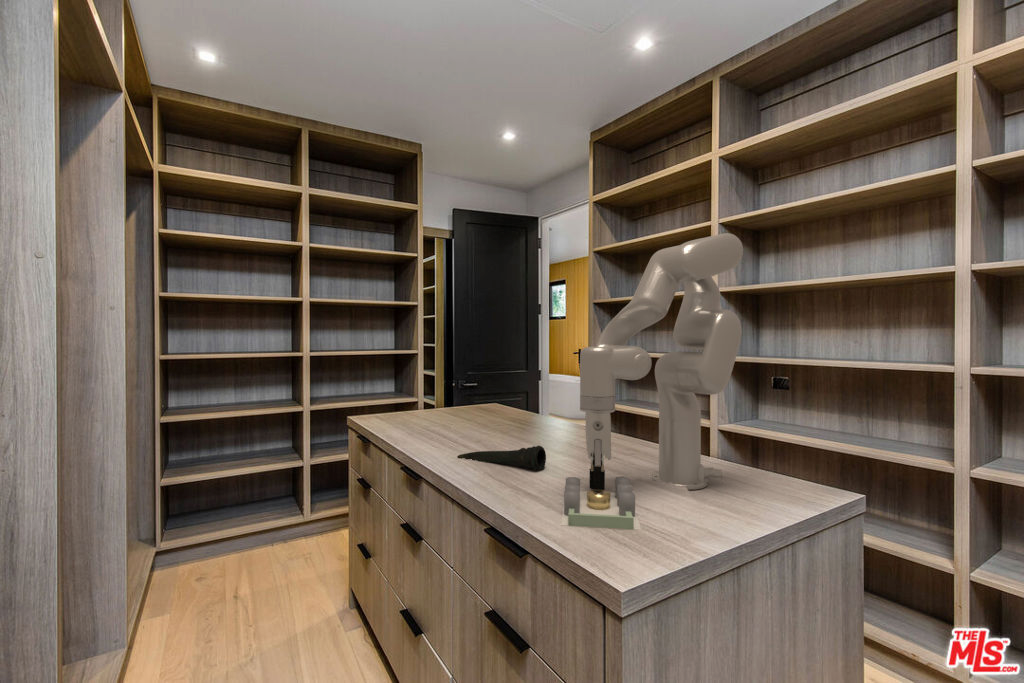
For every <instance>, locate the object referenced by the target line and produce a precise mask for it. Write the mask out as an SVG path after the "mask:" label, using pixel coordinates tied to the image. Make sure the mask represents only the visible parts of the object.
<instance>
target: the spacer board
mask: <svg viewBox="0 0 1024 683" xmlns="http://www.w3.org/2000/svg"><path fill="white" fill-rule="evenodd" d="M614 480H615V484H614V485H615V488H614V490H615V492H609V491H608V492H609V493H610V508H609V509H607V510H594V509H591V508H589V507H587V492H588V491H589V490H587V491H586V490H581V479H580V478H579V477H576V476H569V477H566V478H565V485H564V491H563V506H562V514H561V515H562V516H561V522H560V525H561V526H565V527H581V528H599V529H612V530H613V529H616V530H632V531H635V530H636V531H642V527H641V524H640V522H639V518H638V516H637V512H636V493H635V492H633V485H632V484H631V478H629V477H627V476H616V477H615V478H614Z"/></svg>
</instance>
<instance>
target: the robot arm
mask: <svg viewBox="0 0 1024 683" xmlns="http://www.w3.org/2000/svg"><path fill="white" fill-rule="evenodd" d="M743 255H744V247H743V243H742V241H741V240H740V239H739V238H738V236H737V235H735V234H733V233H727V232H724V233H720V234H715V235H711V236H706V237H701V238H696V239H693V240H689V241H685V242H683V243H681V244H679V245H675V246H671V247H665V248H662V249H658V250H657V251H656V252H654V253H653V254H652V256H651V257H650V259H649V262H648V264H647V265H646V267H645V270H644V272H643V274H642V276H641V279H640V282H639V284H638V286H637V288H636V290H635V292H634V294H633V296H632V299H631V300H630V301H629V303H628V304H626V306H624V307H623V308H621V310H619V312H618V313H617V314H616V315H615V316H614V317H613V318H612V319H611V320H610V321H609V323H607V325H606V326H605V328H604V329H603V331H602V332H601V334H600V336H599V338H598V340H597V342H596V346H584V347H583V348H582V349H581V351H580V354H579V355H580V357H579V363H580V364H579V367H580V368H579V410H580V411H581V412H583V413H584V412H585V441H586V442H585V443H586V451H587V458H588V459H589V460H590V468H589V489H590V490H605V489H606V488H605V487H606V482H605V481H606V480H605V479H606V476H605V475H606V473H605V472H606V470H605V459H607V460H608V461H610V460H612V420H611V419H612V417H611V416H612V415H611V413H614V412H616V380H617V379H620V380H628V381H636V380H640V379H642V378H645V377H646V376H647V375H648V374H649V373H650V370H651V368H652V362H653V361H652V358H651V356H650V354H649V353H648V351H647V350H646V349H644V348H643V347H640V346H636V345H627V344H628V342H629V341H630V340H631V339H632V338H633V336H635V335H636V334H637V333H639V332H640V331H643V330H644V329H646V328H648V327H650V326H653V325H654V324H656V323H657V322H659V321H661V320H662V319H664V318H665V317H666V315H667V314H668V312H669V309H670V307H671V305H672V302H673V300H674V297H675V294H676V293H677V291H678V288H679V286H680V285H681V283H682V284H683V286H684V288H683V289H684V291H683V292H684V294H683V298H682V302H681V306H680V308H679V312H678V315H677V318H676V319H675V325H674V328H673V334H672V337H673V338H672V339H673V340H674V343H675V344H676V345H677V346H679V347H680V348H683V349H687V350H699V351H696V352H695V351H683V350H682V351H679V350H678V351H670V352H666V353H665V354H663V355H661V356H660V357H659V358H658V359H657V360H656V363H655V367H654V378H655V382H656V387H657V395H658V419H659V420H658V471H657V472H654V473H653V474H652V478H651V479H652V481H658V482H661V483H664V484H668V485H669V484H670V485H675V486H685V488H686V490H688V491H690V490H691V491H692V490H700V489H704V488H706V487H707V486H708V478H715V479H716V478H720V479H721V478H723V471H722V468H721V469H718V468H714V467H705V466H704V465H703V464H702V463H701V459H702V458H701V457H702V456H701V454H702V453H701V450H702V449H701V441H702V440H701V437H702V435H701V434H702V433H701V432H702V431H701V429H702V427H701V426H702V425H701V423H702V422H701V420H702V416H701V415H702V411H701V406H700V402H699V400H698V398H697V396H696V394H700V395H709V396H710V395H712V396H713V395H717V394H720V393H722V392H723V391H724V390H725V389H726V387H727V385H728V384H729V382H730V379H731V376H732V372H733V370H734V365H735V362H736V359H737V355H738V352H739V348H740V344H741V341H742V336H743V335H742V333H743V332H742V330H743V329H742V324H741V320H740V318H739V317H738V316H737V314H736V313H735V312H733V311H731V310H729V309H725V308H722V309H721V308H719V306H720V302H721V291H720V288H719V286H718V284H717V283H716V282H715V280H714V278H713V277H714V276H717V275H720V274H722V273H725V272H728V271H730V270H733V269H734V268H736V267H737V266H738V265H739V264H740V262H741V261H742V259H743ZM700 350H702V352H700Z"/></svg>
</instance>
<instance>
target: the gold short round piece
mask: <svg viewBox="0 0 1024 683" xmlns="http://www.w3.org/2000/svg"><path fill="white" fill-rule="evenodd" d="M587 491H588V492H587V507H589V508H591V509H594V510H607V509H609V508H610V493H609V491H607V490H605V489H604V490H594V489H590V490H587Z"/></svg>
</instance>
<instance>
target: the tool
mask: <svg viewBox="0 0 1024 683" xmlns="http://www.w3.org/2000/svg"><path fill="white" fill-rule="evenodd" d="M546 454H547V453H546V450H545V448H544V447H543V446H542V445H536V446H534V445H532V446H531V447H530V446H528V447H527V448H526V447H521V448H519V449H514V450H485V451H484V450H480V451H471V452H467V453H461V454H458V455H457V458H459V459H462V458H465V459H464V460H468V459H472V460H471V461H475V460H478V461H477V462H482V461H485V462H484V463H491V462H492V464H503V465H514V466H518V467H521V468H527V469H530V470H534V471H535V472H541V471H543V470H544V469H545V467H546V462H547V455H546Z"/></svg>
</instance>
